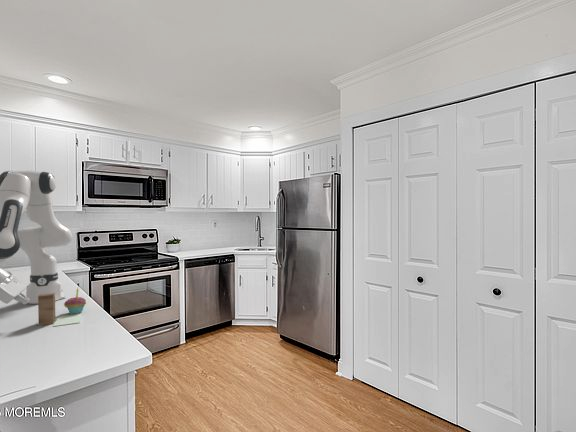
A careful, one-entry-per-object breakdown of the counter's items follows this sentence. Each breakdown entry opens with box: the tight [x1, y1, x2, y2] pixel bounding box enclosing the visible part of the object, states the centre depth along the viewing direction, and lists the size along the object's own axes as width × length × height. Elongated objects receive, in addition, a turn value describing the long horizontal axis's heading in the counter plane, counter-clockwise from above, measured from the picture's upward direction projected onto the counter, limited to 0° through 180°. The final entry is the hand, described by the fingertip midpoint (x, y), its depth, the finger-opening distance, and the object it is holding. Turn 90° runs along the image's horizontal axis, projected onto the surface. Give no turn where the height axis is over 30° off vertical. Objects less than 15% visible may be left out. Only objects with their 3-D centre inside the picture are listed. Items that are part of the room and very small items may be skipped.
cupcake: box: [63, 288, 87, 315], centre depth 151 cm, size 9×8×12 cm
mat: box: [52, 313, 83, 327], centre depth 141 cm, size 14×9×1 cm, turn 28°
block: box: [37, 292, 56, 327], centre depth 137 cm, size 5×5×12 cm
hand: (27, 302), depth 134 cm, fingers closed
